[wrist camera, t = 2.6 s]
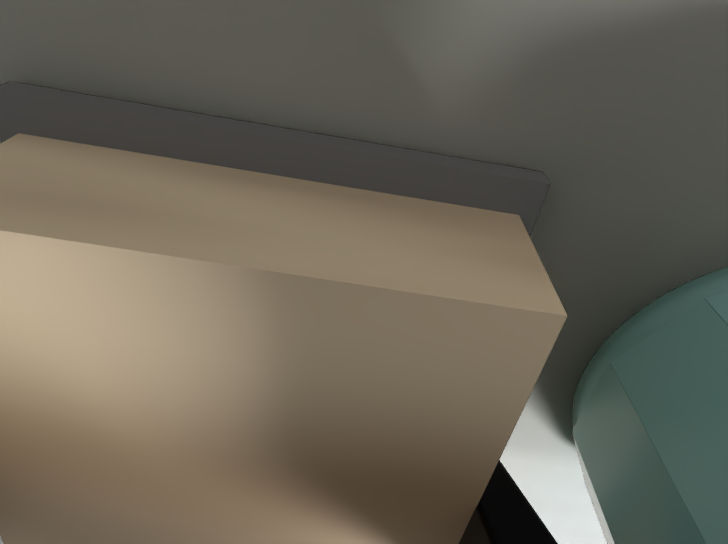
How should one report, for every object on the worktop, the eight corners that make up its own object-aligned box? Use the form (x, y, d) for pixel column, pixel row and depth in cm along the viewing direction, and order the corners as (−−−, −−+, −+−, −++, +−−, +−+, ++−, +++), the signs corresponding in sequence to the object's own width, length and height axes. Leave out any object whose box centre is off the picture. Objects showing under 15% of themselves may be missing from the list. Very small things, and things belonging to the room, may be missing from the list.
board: (399, 542, 11) (403, 660, 10) (91, 506, 11) (33, 623, 9) (519, 214, 7) (568, 315, 5) (19, 133, 7) (-119, 212, 5)
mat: (405, 538, 12) (406, 556, 12) (90, 501, 12) (82, 518, 11) (541, 171, 7) (549, 183, 7) (8, 81, 7) (-10, 89, 6)
